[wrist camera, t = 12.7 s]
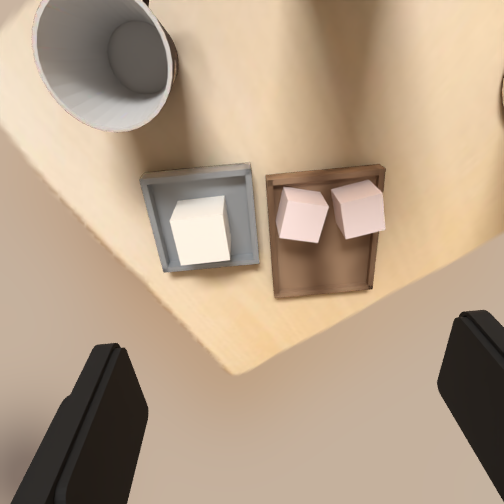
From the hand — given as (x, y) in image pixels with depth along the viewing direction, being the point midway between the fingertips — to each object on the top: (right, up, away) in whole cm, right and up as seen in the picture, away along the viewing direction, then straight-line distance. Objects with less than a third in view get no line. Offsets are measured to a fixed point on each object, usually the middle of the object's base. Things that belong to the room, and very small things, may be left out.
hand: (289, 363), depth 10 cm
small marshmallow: (+4, +8, +27) cm, 28 cm away
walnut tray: (+7, +5, +30) cm, 31 cm away
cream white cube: (-6, +7, +28) cm, 29 cm away
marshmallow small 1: (+10, +9, +27) cm, 30 cm away
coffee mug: (-10, +21, +20) cm, 31 cm away
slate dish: (-6, +7, +28) cm, 30 cm away
